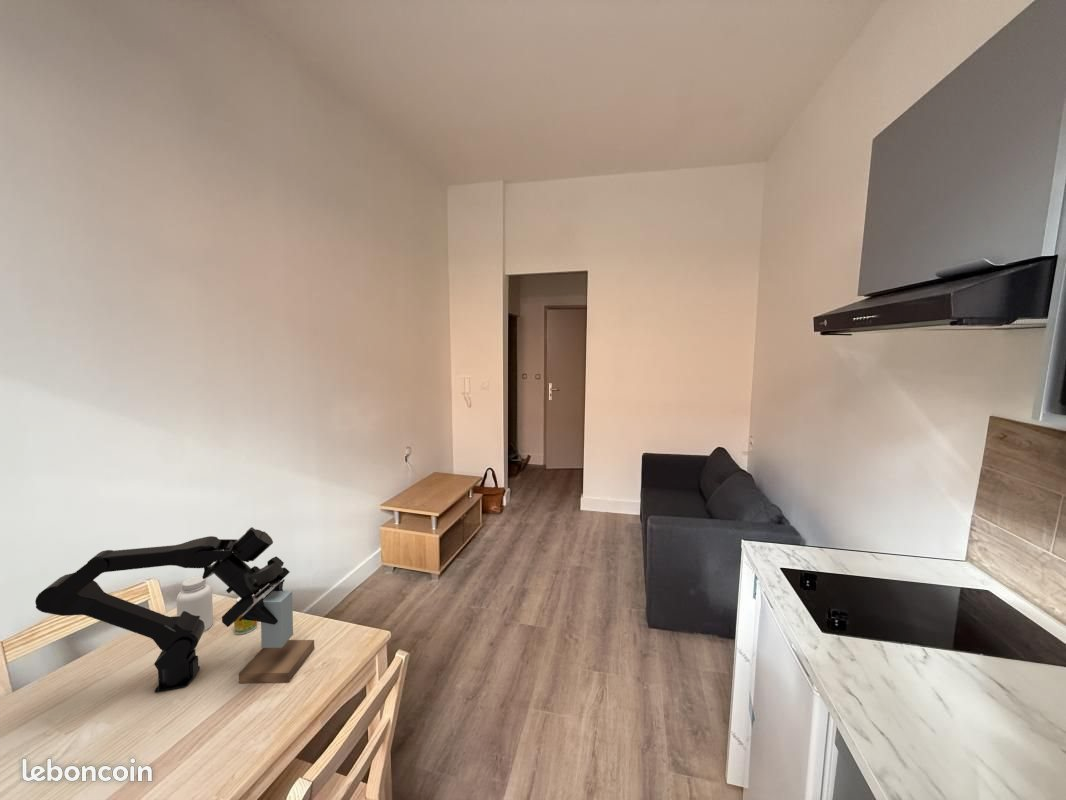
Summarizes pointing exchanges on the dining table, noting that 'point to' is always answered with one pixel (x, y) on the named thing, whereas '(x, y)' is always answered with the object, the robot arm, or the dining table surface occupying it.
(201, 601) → the pill bottle
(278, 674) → the walnut board
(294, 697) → the dining table surface
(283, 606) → the slate post
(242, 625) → the supplement bottle
